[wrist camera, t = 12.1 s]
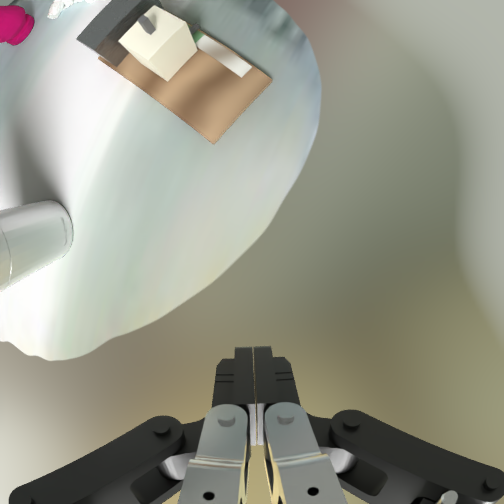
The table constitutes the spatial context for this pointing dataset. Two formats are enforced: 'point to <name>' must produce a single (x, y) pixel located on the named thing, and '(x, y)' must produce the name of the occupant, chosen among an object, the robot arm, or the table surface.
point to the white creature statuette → (61, 7)
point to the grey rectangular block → (114, 28)
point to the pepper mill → (14, 24)
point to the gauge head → (160, 42)
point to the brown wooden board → (202, 85)
